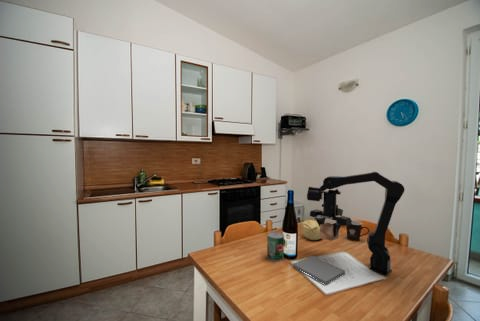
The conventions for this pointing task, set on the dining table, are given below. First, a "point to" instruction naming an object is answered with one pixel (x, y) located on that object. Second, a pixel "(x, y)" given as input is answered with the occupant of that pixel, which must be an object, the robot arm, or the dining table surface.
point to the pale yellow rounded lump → (311, 230)
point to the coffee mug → (355, 231)
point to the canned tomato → (275, 246)
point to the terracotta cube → (327, 231)
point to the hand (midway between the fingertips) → (329, 234)
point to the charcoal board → (319, 269)
